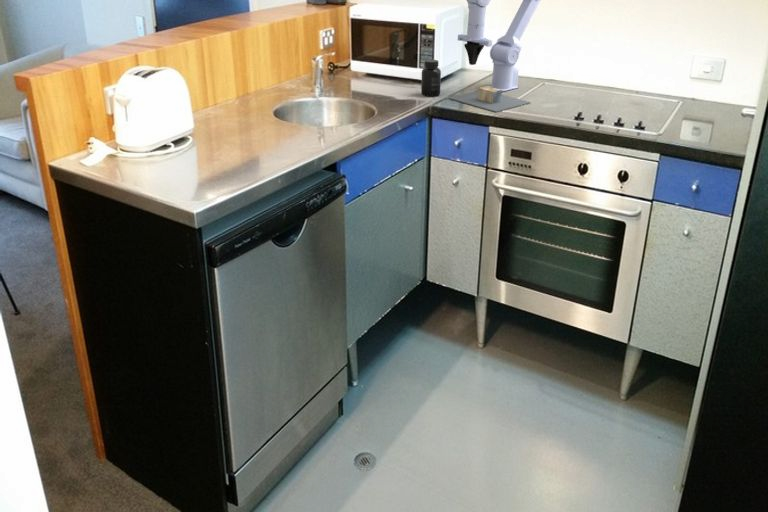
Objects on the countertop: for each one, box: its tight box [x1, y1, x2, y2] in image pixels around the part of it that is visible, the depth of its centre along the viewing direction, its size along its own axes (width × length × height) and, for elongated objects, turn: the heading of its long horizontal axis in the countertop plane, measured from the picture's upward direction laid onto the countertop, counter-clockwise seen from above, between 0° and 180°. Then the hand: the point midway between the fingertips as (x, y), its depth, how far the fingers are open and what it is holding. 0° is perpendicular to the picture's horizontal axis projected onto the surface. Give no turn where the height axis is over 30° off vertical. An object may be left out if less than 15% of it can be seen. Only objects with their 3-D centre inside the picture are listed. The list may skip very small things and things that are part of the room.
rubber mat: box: [448, 90, 531, 113], centre depth 248 cm, size 18×22×1 cm
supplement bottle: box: [420, 59, 442, 98], centre depth 252 cm, size 7×7×12 cm
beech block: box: [478, 85, 503, 104], centre depth 246 cm, size 4×4×7 cm
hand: (472, 64), depth 252 cm, fingers closed
